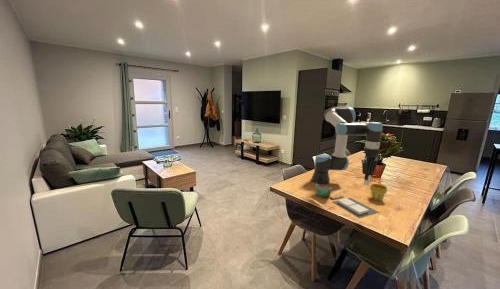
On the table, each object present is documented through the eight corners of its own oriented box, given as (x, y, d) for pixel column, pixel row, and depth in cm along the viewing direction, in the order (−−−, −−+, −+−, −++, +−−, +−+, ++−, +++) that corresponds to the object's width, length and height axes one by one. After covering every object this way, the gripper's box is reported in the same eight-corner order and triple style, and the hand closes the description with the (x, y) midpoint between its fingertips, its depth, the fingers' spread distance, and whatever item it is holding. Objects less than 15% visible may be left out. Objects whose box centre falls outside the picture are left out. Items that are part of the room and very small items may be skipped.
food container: (311, 196, 153) (312, 183, 151) (315, 194, 157) (316, 181, 155) (327, 202, 145) (328, 189, 143) (331, 199, 149) (332, 186, 147)
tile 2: (357, 206, 137) (348, 209, 134) (357, 203, 137) (348, 206, 134) (368, 212, 130) (359, 215, 127) (368, 209, 130) (359, 212, 126)
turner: (334, 202, 145) (334, 199, 145) (328, 198, 151) (328, 195, 150) (353, 198, 152) (353, 195, 152) (346, 194, 158) (346, 191, 157)
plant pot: (370, 194, 159) (372, 182, 157) (386, 198, 152) (388, 186, 150) (367, 199, 151) (369, 186, 149) (384, 203, 145) (386, 190, 143)
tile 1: (346, 200, 145) (337, 202, 142) (346, 198, 145) (337, 200, 142) (355, 206, 138) (347, 208, 135) (356, 203, 138) (347, 205, 135)
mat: (331, 203, 143) (331, 201, 143) (350, 199, 150) (350, 197, 150) (359, 220, 124) (359, 218, 123) (379, 214, 131) (379, 212, 131)
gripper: (370, 150, 120) (364, 188, 124) (385, 148, 125) (379, 185, 130) (358, 147, 126) (354, 183, 131) (373, 145, 131) (368, 181, 136)
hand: (366, 184), depth 130 cm, fingers closed
